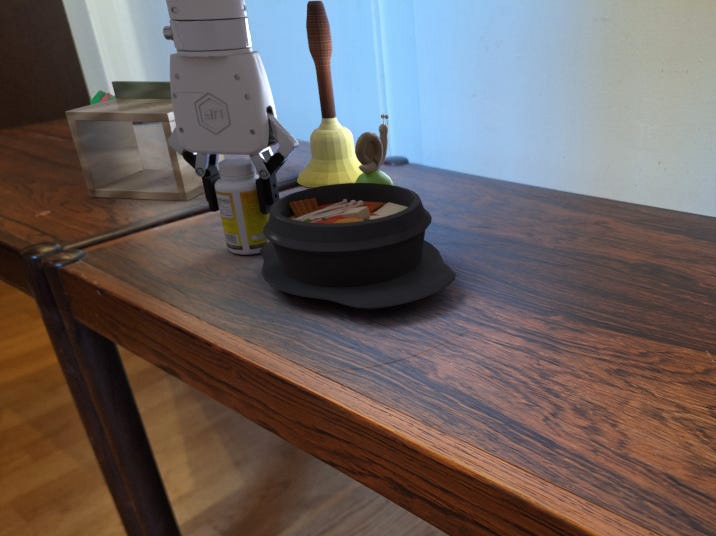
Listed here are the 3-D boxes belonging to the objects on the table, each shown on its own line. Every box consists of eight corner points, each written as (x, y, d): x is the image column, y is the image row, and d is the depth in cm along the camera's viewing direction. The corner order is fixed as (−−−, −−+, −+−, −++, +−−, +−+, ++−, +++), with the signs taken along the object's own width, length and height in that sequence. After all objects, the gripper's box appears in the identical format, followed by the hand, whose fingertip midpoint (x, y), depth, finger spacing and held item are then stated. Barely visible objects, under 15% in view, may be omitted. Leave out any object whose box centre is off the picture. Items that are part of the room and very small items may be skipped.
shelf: (90, 197, 104) (59, 93, 97) (139, 176, 114) (114, 80, 107) (187, 201, 101) (162, 94, 94) (228, 179, 111) (209, 81, 104)
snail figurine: (408, 205, 97) (402, 115, 91) (378, 218, 92) (370, 124, 86) (378, 200, 99) (370, 112, 94) (347, 212, 95) (337, 120, 89)
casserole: (223, 269, 77) (207, 194, 73) (365, 230, 88) (358, 163, 84) (339, 348, 61) (327, 257, 57) (498, 289, 71) (498, 208, 67)
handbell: (380, 167, 116) (365, -2, 104) (368, 187, 105) (349, 1, 93) (307, 168, 116) (283, 0, 104) (287, 188, 106) (258, 3, 93)
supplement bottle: (281, 240, 85) (267, 155, 80) (269, 256, 81) (253, 167, 76) (236, 240, 86) (219, 155, 80) (221, 256, 81) (202, 167, 76)
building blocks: (124, 142, 159) (152, 112, 153) (87, 125, 153) (115, 93, 147) (125, 117, 163) (152, 86, 157) (89, 99, 156) (116, 66, 150)
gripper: (115, 41, 70) (159, 216, 79) (274, 41, 67) (300, 223, 76) (159, 35, 77) (195, 197, 85) (305, 35, 74) (327, 203, 82)
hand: (244, 208), depth 81 cm, fingers closed on supplement bottle, 5 cm apart
